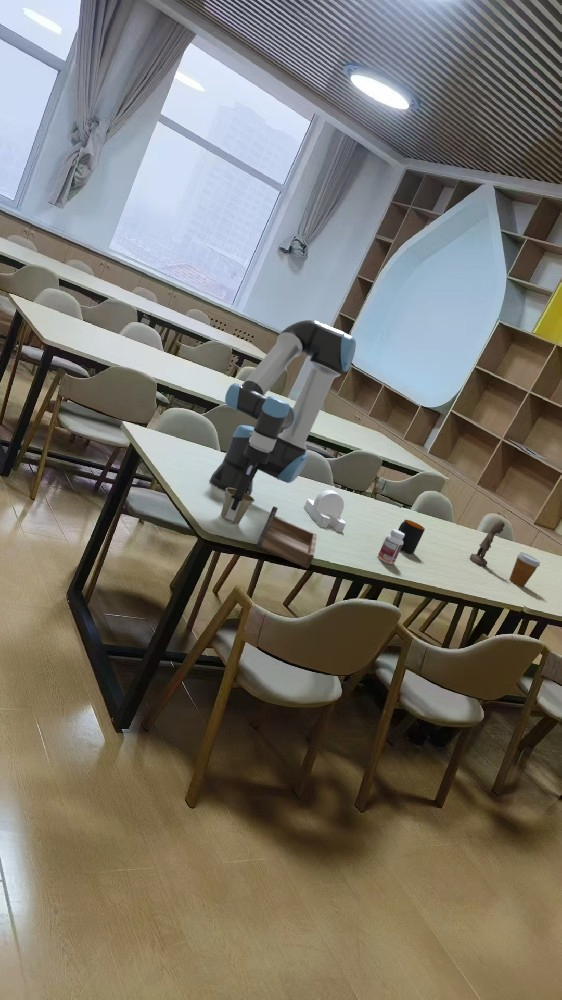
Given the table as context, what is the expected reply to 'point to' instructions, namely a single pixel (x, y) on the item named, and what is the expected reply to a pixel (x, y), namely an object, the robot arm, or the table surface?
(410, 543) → the mug
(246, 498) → the flower pot
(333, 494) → the bracket
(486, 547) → the figurine
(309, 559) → the wooden tray
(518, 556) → the disposable coffee cup
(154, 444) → the table surface
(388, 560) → the pill bottle
